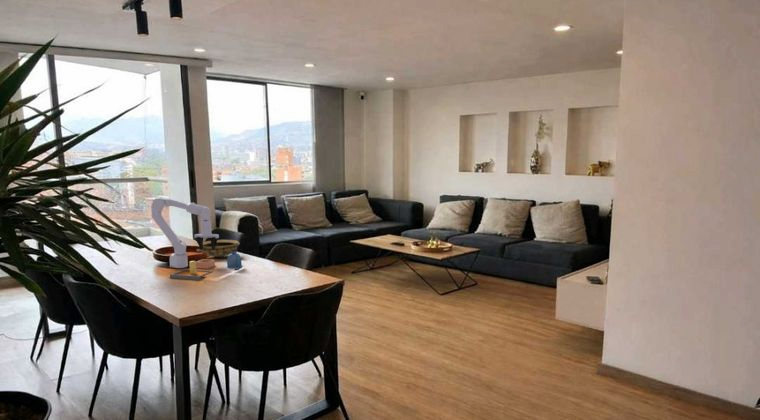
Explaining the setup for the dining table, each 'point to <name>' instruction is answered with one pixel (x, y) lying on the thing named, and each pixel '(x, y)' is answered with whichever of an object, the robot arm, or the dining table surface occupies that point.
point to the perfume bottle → (234, 260)
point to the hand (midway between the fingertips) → (207, 249)
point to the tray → (189, 275)
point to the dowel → (192, 267)
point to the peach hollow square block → (205, 263)
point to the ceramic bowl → (219, 248)
